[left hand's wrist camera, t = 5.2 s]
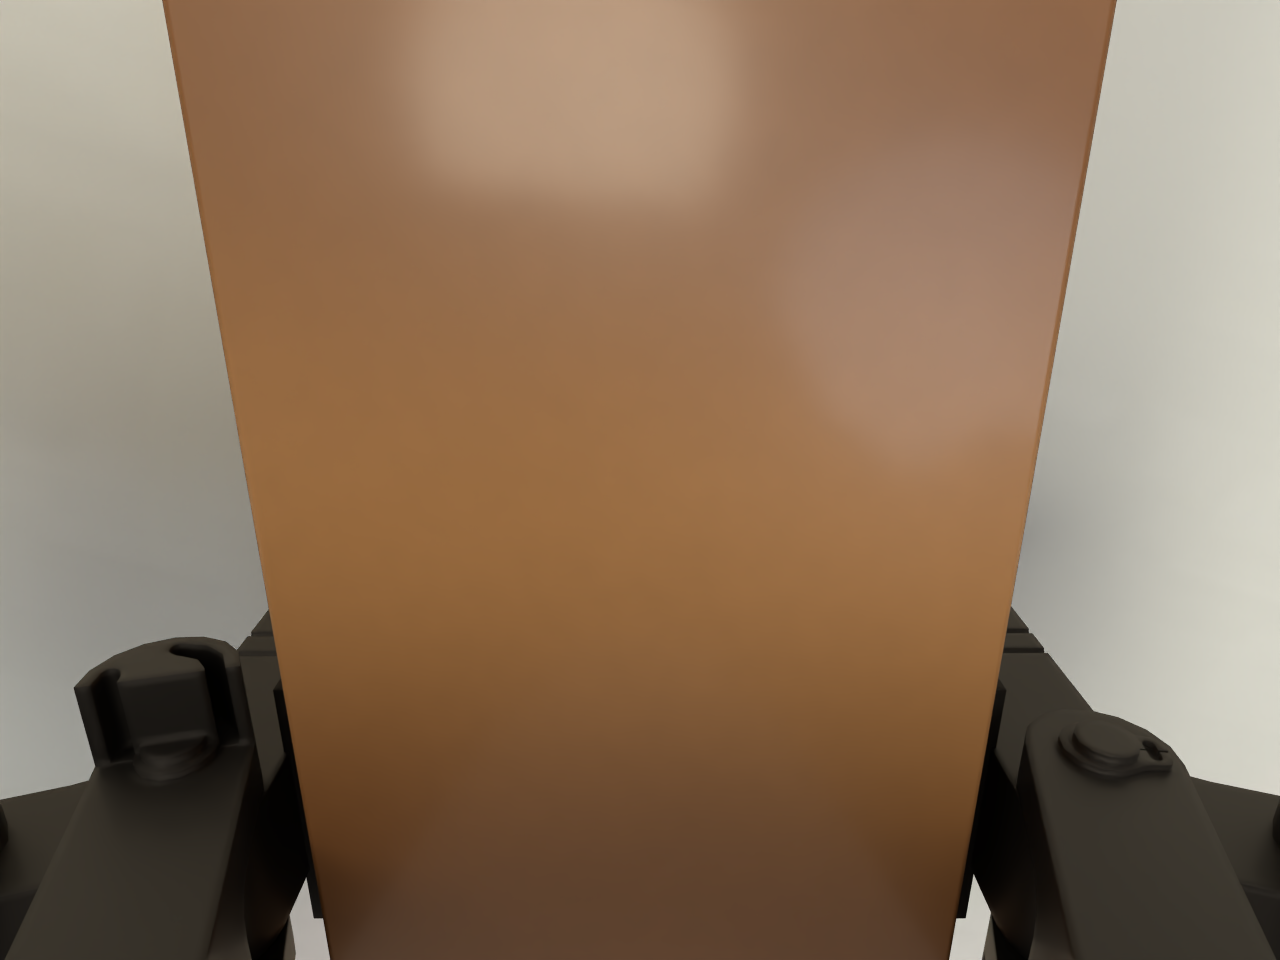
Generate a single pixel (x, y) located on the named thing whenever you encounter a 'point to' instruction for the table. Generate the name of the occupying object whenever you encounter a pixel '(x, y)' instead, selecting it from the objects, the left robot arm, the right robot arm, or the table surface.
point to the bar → (639, 445)
